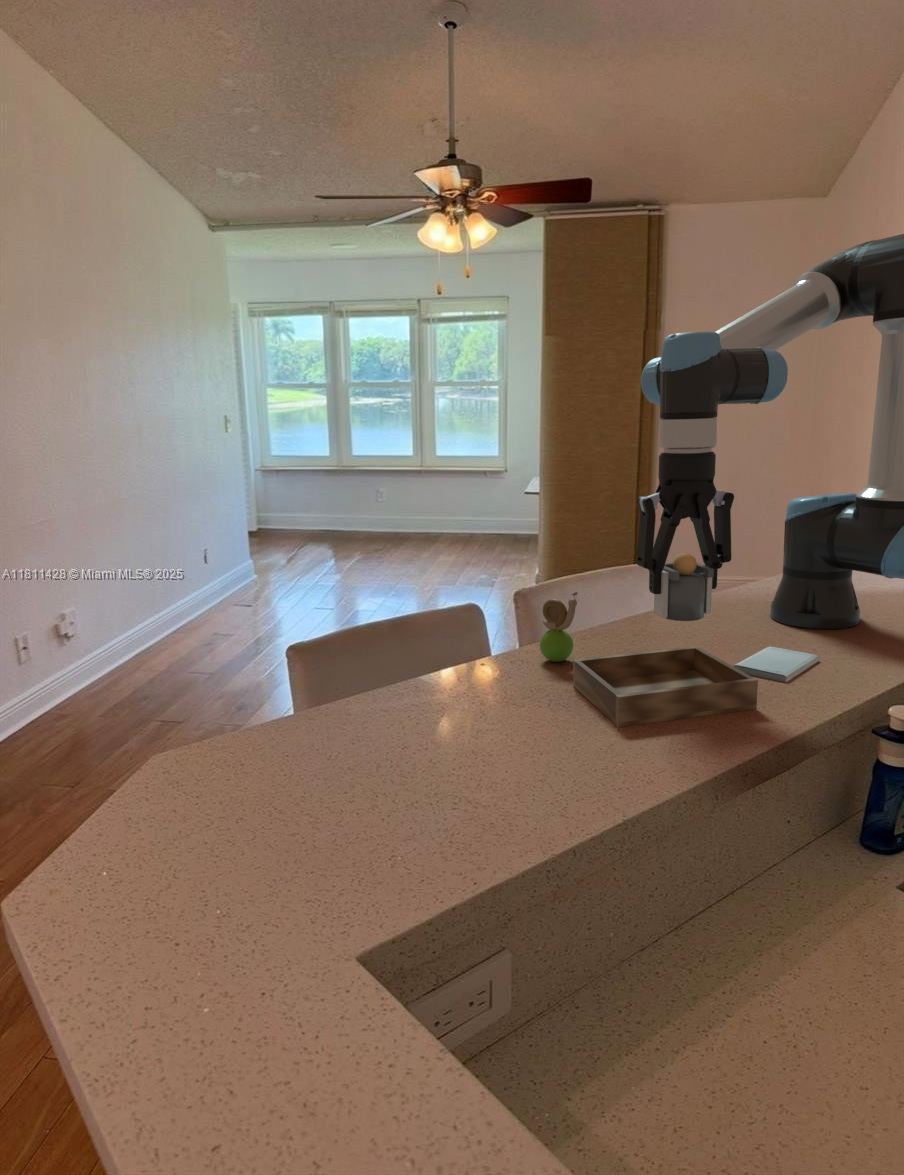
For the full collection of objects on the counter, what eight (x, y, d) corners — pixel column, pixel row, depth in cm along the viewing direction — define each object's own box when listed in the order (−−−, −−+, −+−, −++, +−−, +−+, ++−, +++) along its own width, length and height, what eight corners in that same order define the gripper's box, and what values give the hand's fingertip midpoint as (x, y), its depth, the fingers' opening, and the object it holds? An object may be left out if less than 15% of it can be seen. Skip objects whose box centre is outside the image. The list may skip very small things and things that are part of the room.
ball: (688, 567, 114) (692, 548, 113) (698, 578, 112) (702, 558, 110) (667, 569, 114) (671, 549, 112) (677, 580, 111) (680, 560, 110)
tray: (695, 671, 122) (696, 646, 121) (756, 708, 107) (757, 680, 106) (573, 686, 118) (573, 659, 117) (618, 726, 103) (618, 697, 102)
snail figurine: (568, 669, 125) (568, 595, 123) (533, 662, 129) (532, 591, 126) (584, 660, 130) (584, 588, 127) (550, 654, 133) (549, 584, 131)
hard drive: (786, 675, 116) (819, 654, 124) (733, 664, 122) (767, 644, 130) (785, 686, 116) (818, 664, 125) (732, 674, 122) (767, 654, 130)
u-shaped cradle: (691, 608, 117) (692, 561, 116) (712, 618, 112) (713, 568, 110) (653, 612, 116) (654, 564, 115) (672, 622, 111) (673, 572, 109)
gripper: (735, 446, 114) (728, 601, 119) (611, 452, 111) (609, 612, 116) (765, 448, 107) (757, 613, 112) (633, 455, 103) (631, 626, 109)
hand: (682, 613), depth 114 cm, fingers closed on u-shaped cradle, 6 cm apart
